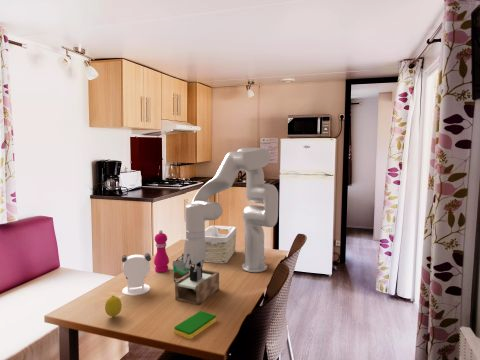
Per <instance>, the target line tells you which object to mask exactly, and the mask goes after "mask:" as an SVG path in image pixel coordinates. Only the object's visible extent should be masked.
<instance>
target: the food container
mask: <svg viewBox="0 0 480 360" xmlns="http://www.w3.org/2000/svg"><path fill="white" fill-rule="evenodd" d="M172 269H173V270H172V272H173V282H174V283H175V281H177V280H178V279H180V278H182V277H183V276H185V275H187V274H188V273H190V271H189V269H188V268H186V264H185V263H184V252H181V255H180V257H177V259H175V260H172Z"/></svg>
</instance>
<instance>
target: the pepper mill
mask: <svg viewBox="0 0 480 360" xmlns="http://www.w3.org/2000/svg"><path fill="white" fill-rule="evenodd" d="M167 240H168V235H167V234H166V233H164V232H163V230H158V233H157V234H155V236H154V241H155V247H156V253H155V255H154V259H153V264H154V266H155V267H154V270H155V272H156V273H165V272H168V271H169V264H170V258H169V255H168V254H167V252H166V251H167V250H166V247H167V242H168V241H167Z"/></svg>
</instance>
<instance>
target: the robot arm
mask: <svg viewBox="0 0 480 360" xmlns="http://www.w3.org/2000/svg"><path fill="white" fill-rule="evenodd" d="M270 160H271V153H270V151H269V150H268V148H265V147H241V148H239V149H237V150H233V151H229V152H227V153H226V155H225V156H224V158H223V160H222V162H221V164H220V165H219V168H218V169H217V171H216V173H215V175H214V176H213V178H212V179H210V180H208V181H207V182H206V183H205V184H204V185H202V186H201V187H200V188H199V189H198V191H197V192H195V195H194V196H193V199H192V201H191V203H188V204H187V205H185V240H184V246H183V253H184V263H185V264H186V268H188V269H189V273H190V280H192V281H197V271H196V266H199V267H201V278H202V269H203V267H204V263H205V262H204V260H205V258H206V243H205V230H206V227H205V226H206V225H205V223H206V222H207V221H216V220H218V219H219V218H220V217H222V214H223V207H222V204H220V203H219V202H216V201H212V200H211V201H209V199H210V198H211V197H213V196H215V195H216V194H218V193H221V192H223V191H226V190H229V189H230V188H231V187H232V186H233V184H234V182H235V180H236V178H237V177H238V174H239V173H240V171H243V172H245V174H246V185H245V186H246V187H245V188H246V189H245V190H246V192H245V194H246V200H247V201H248V202H250V203H255V204H250V205H246V206H245V207H244V209H243V212H242V220H243V224H244V225H243V226H244V263H242V265H241V269H242V270H243V271H244V272H249V273H262V272H264V271H266V270H267V269H268V264H266V263H265V260H266V256H265V231H264V228H263V227H265V228H273V227H275V226H276V225H277V223H278V217H279V190H278V189H277V187H276V186H275V185H273V184H272V183H271V184H270V183H265V173H264V170H263V168H264V167H266V166H267V165H268V164H269V163H270V162H271V161H270ZM258 204H261V205H258ZM193 266H194V267H193Z"/></svg>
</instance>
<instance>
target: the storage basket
mask: <svg viewBox="0 0 480 360" xmlns="http://www.w3.org/2000/svg"><path fill="white" fill-rule="evenodd" d="M219 231H222V232H227V233H219ZM205 243H206V258H205V260H204V262H203V263H211V264H212V263H213V264H227V263H228V262H229V261H230V259H231V258H232V256H233V255H234V253H235V251H236V243H237V227H236V226H229V225H228V226H227V225H210V226H208V227H207V228H205Z"/></svg>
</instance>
